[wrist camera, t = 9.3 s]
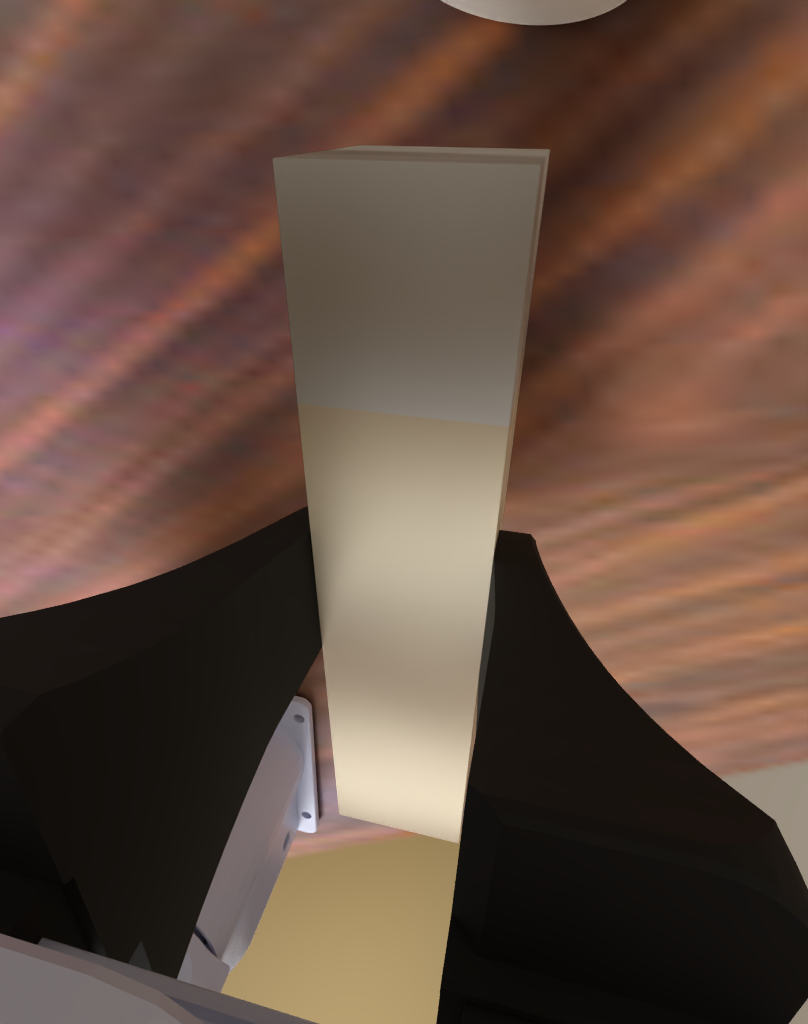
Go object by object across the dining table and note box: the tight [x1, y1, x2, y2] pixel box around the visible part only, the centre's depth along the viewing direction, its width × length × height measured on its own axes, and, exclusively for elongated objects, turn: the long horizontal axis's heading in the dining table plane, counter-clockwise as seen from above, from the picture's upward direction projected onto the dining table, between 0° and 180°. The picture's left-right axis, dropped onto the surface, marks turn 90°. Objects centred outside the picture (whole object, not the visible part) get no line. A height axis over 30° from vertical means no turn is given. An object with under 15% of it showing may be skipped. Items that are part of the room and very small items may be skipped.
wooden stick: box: [273, 145, 550, 843], centre depth 12 cm, size 14×3×4 cm, turn 178°
